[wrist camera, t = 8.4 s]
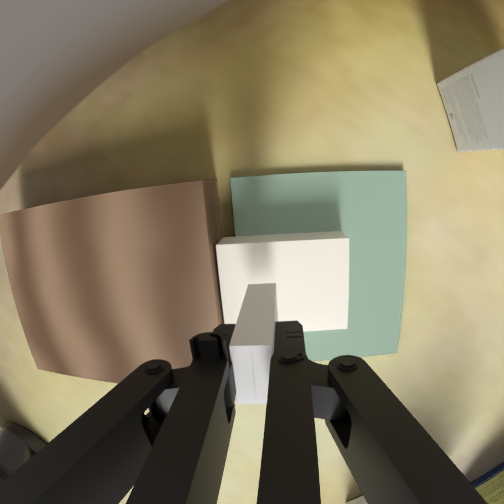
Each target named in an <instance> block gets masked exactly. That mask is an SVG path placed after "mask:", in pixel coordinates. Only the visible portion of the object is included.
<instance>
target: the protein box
mask: <svg viewBox="0 0 504 504" xmlns="http://www.w3.org/2000/svg"><path fill="white" fill-rule="evenodd" d="M471 484H472V486H473V487H474V488H475V489H476V490H477V491H478V493H479V494H480V495H481V496H482V497H483V499H484V500H485V501H486V502H487V503H488V504H504V463H502V464H501V465H499V466H498V467H496V468H495V469H493V470H491V471H490V472H488V473H487V474H485V475H483V476H482V477H480V478H478V479H477V480H475V481H473V482H472V483H471Z"/></svg>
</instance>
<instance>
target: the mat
mask: <svg viewBox="0 0 504 504" xmlns="http://www.w3.org/2000/svg"><path fill="white" fill-rule="evenodd" d="M230 181H231V192H232V204H233V215H234V227H235V236H252V235H270V234H289V233H309V232H329V231H342V232H343V233H344V234H345V235H346V236H348V237H349V302H348V326H347V329H337V330H322V331H306V332H303V333H304V341H305V350H306V355H307V357H308V359H309V360H311V361H324V360H332V359H333V358H335V357H338V356H342V355H354V356H357V357H367V356H375V355H384V354H391V353H397V350H398V343H399V335H400V327H401V319H402V309H403V298H404V286H405V270H406V246H407V193H406V171H336V172H310V173H291V174H275V175H261V176H248V177H236V178H230Z"/></svg>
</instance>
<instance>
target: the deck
mask: <svg viewBox="0 0 504 504" xmlns="http://www.w3.org/2000/svg"><path fill="white" fill-rule="evenodd" d="M0 236H1V242H2V248H3V253H4V258H5V263H6V268H7V272H8V277H9V281H10V285H11V289H12V293H13V297H14V300H15V304H16V307H17V311H18V314H19V318H20V321H21V324H22V327H23V330H24V333H25V336H26V339H27V342H28V345H29V347H30V350H31V353H32V355H33V358H34V361H35V363H36V366H37V368H38V369H41V370H45V371H50V372H55V373H60V374H65V375H70V376H75V377H81V378H86V379H92V380H99V381H105V382H112V383H120V382H121V381H122V380H123V379H125V378H126V377H127V376H128V375H129V374H130V373H132V372H133V371H134V370H135V369H136V368H137V367H138V366H140V365H141V364H143V363H144V362H147V361H150V360H153V359H154V360H155V359H161V360H166V361H168V362H169V363H170V364H171V366H172V369H177V368H183V367H188V366H190V364H191V362H192V360H193V358H192V353H191V348H190V342H189V340H190V339H191V338H192V337H193V336H195V335H197V334H201V333H205V332H213V330H214V329H215V328H216V327H217V326H218V325H220V324H224V315H223V307H222V298H221V289H220V280H219V270H218V261H217V251H216V244H217V243H218V242H219V241H220V240H221V239H222V232H221V222H220V211H219V200H218V189H217V179H214V180H199V181H190V182H182V183H174V184H166V185H158V186H151V187H143V188H137V189H130V190H123V191H117V192H111V193H105V194H99V195H93V196H87V197H82V198H76V199H71V200H66V201H60V202H55V203H50V204H46V205H41V206H36V207H31V208H27V209H22V210H18V211H14V212H10V213H5V214H1V215H0Z"/></svg>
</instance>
